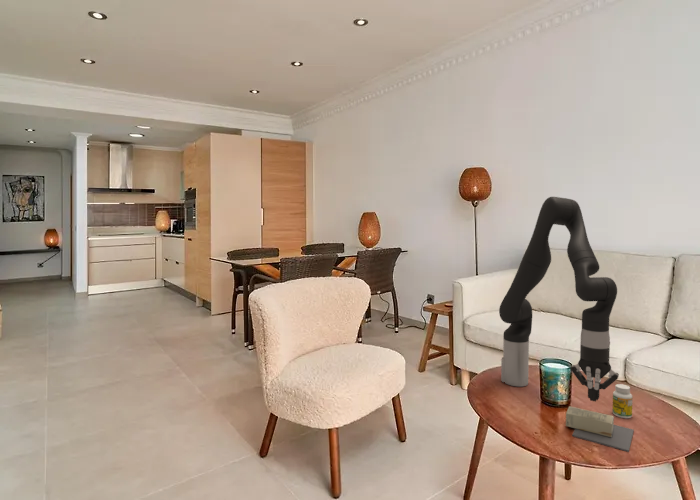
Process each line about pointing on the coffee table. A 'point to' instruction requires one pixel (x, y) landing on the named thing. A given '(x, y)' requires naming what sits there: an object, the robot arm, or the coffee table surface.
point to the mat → (618, 440)
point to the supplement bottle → (622, 401)
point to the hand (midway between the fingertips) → (593, 400)
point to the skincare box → (590, 421)
